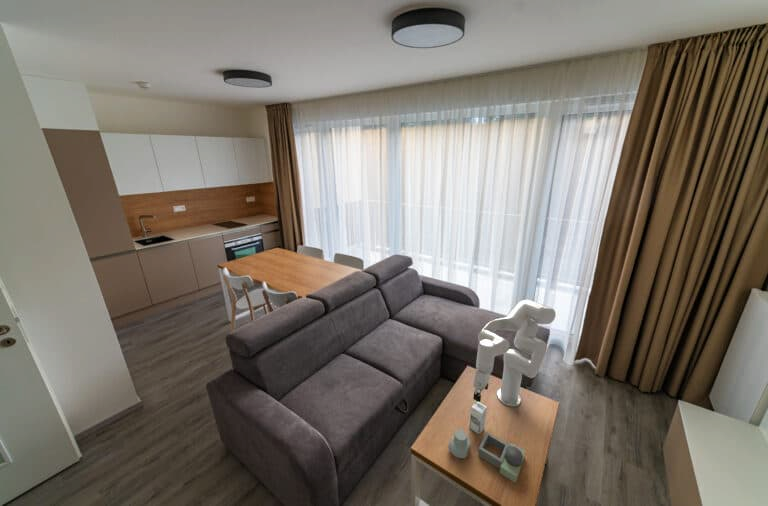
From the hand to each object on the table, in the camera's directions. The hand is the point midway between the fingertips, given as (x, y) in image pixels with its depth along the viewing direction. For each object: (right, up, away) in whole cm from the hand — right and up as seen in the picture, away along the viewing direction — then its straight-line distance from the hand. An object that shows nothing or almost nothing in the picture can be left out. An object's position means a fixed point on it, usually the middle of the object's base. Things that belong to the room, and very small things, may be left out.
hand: (480, 394), depth 140 cm
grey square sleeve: (+7, -26, -7) cm, 28 cm away
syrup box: (+1, -21, +8) cm, 23 cm away
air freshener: (-11, -25, -3) cm, 28 cm away
